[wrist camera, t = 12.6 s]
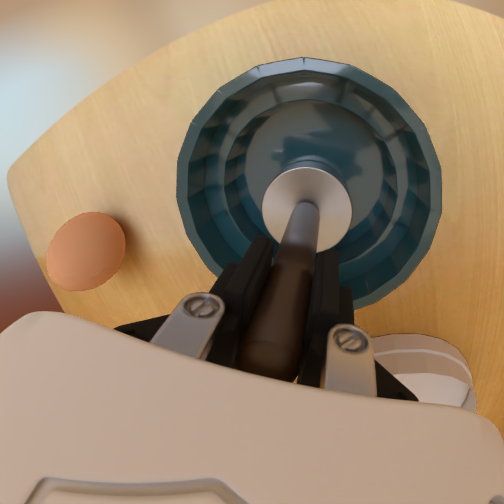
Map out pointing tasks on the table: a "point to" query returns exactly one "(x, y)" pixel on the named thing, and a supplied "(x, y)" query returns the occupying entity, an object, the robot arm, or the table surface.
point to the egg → (85, 252)
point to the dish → (427, 368)
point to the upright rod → (293, 264)
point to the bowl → (317, 150)
